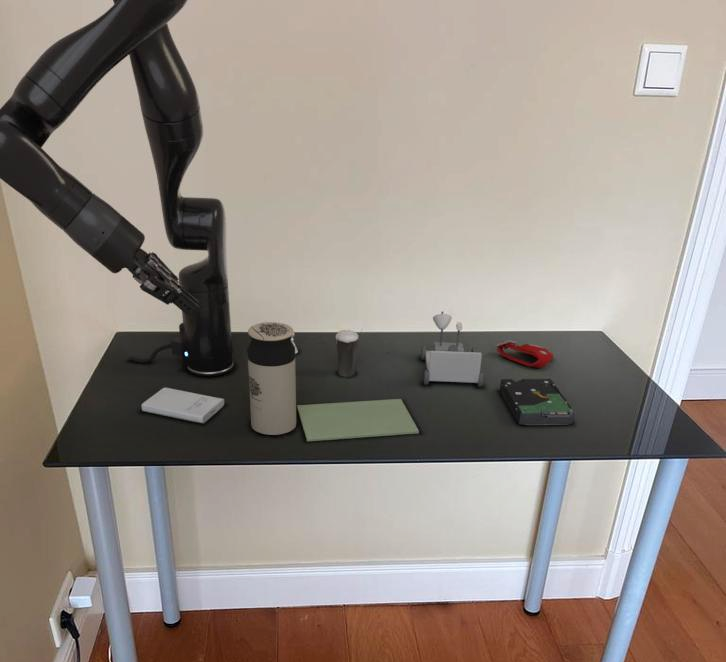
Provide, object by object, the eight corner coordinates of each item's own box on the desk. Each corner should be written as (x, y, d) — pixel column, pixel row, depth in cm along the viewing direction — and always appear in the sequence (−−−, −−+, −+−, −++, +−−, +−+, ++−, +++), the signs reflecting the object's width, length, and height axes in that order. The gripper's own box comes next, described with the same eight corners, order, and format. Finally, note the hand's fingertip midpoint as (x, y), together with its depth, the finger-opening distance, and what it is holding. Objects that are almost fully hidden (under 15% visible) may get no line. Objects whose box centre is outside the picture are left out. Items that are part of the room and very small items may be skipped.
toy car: (423, 308, 161) (478, 310, 161) (420, 351, 166) (473, 354, 166) (428, 340, 146) (488, 343, 146) (424, 387, 151) (482, 389, 151)
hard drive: (166, 394, 145) (224, 405, 142) (142, 412, 138) (202, 424, 135) (165, 386, 144) (224, 397, 141) (140, 404, 137) (202, 416, 134)
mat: (307, 441, 131) (307, 439, 131) (296, 407, 142) (296, 405, 142) (418, 433, 135) (419, 431, 135) (400, 401, 146) (400, 398, 145)
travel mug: (289, 412, 140) (287, 319, 130) (301, 433, 134) (300, 336, 124) (246, 418, 137) (241, 323, 128) (257, 439, 131) (252, 341, 122)
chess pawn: (289, 355, 162) (288, 333, 159) (282, 351, 164) (281, 329, 161) (300, 353, 164) (300, 330, 161) (293, 348, 166) (293, 326, 163)
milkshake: (358, 380, 153) (360, 332, 148) (332, 377, 154) (333, 330, 148) (363, 371, 157) (364, 324, 151) (337, 368, 158) (338, 322, 152)
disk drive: (497, 391, 151) (519, 426, 138) (499, 378, 149) (521, 412, 137) (548, 390, 152) (574, 425, 140) (550, 377, 151) (576, 411, 138)
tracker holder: (544, 345, 169) (565, 352, 160) (538, 365, 170) (559, 373, 161) (494, 335, 165) (513, 341, 156) (489, 355, 167) (507, 362, 157)
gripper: (117, 226, 106) (213, 308, 115) (122, 204, 117) (209, 280, 126) (83, 265, 108) (180, 343, 117) (92, 239, 119) (180, 312, 128)
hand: (195, 309), depth 122 cm, fingers closed
